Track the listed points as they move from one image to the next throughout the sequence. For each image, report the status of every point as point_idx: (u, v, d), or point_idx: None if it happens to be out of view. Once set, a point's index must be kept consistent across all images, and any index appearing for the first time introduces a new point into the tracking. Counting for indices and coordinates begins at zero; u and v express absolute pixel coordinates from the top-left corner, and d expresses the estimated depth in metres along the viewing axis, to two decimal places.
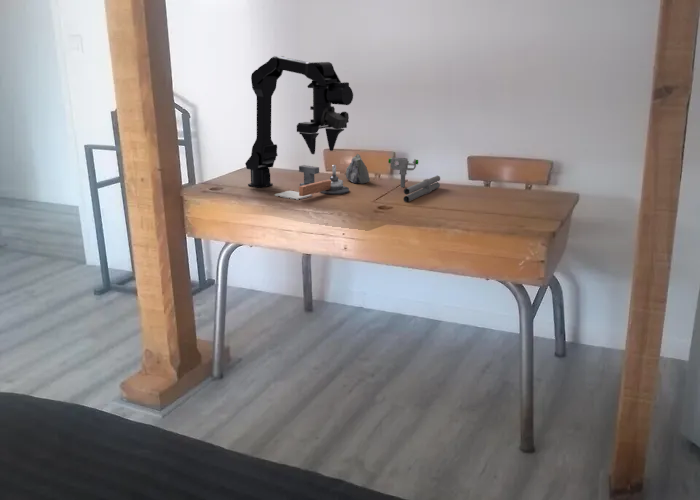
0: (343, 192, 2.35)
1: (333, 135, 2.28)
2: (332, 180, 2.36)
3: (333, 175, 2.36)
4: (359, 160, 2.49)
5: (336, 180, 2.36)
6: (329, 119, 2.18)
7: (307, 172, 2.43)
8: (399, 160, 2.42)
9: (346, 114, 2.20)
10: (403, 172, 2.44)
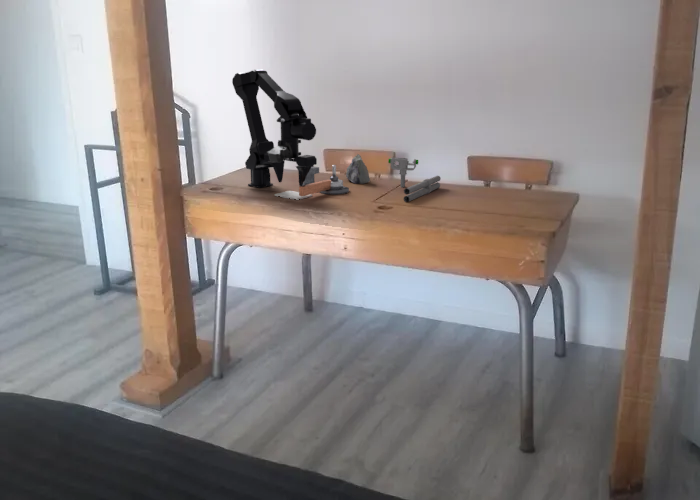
0: (343, 192, 2.35)
1: None
2: (332, 180, 2.36)
3: (333, 175, 2.36)
4: (359, 160, 2.49)
5: (336, 180, 2.36)
6: None
7: None
8: (399, 160, 2.42)
9: (281, 150, 2.23)
10: (403, 172, 2.44)
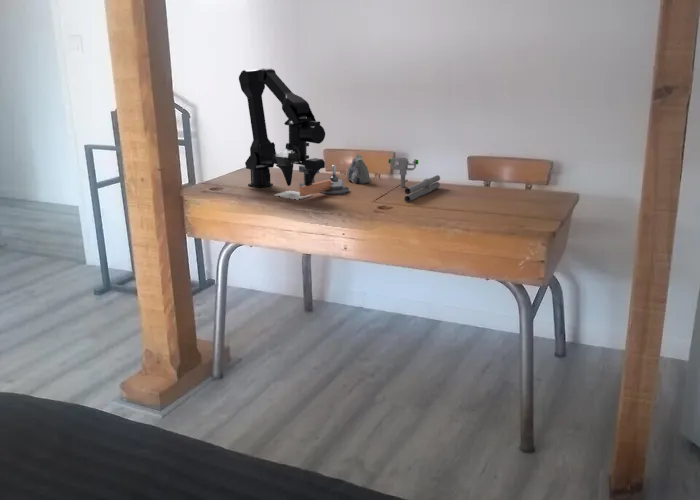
0: (343, 192, 2.35)
1: None
2: (332, 180, 2.36)
3: (333, 175, 2.36)
4: (359, 160, 2.49)
5: (336, 180, 2.36)
6: None
7: None
8: (399, 160, 2.42)
9: (290, 153, 2.21)
10: (403, 172, 2.44)
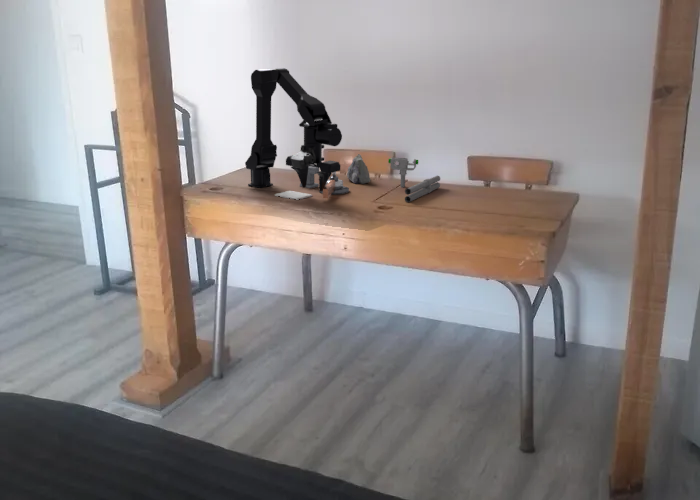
0: (343, 192, 2.35)
1: None
2: (334, 180, 2.36)
3: (334, 175, 2.36)
4: (360, 160, 2.49)
5: (337, 180, 2.37)
6: None
7: None
8: (399, 160, 2.42)
9: (305, 156, 2.17)
10: (403, 172, 2.44)
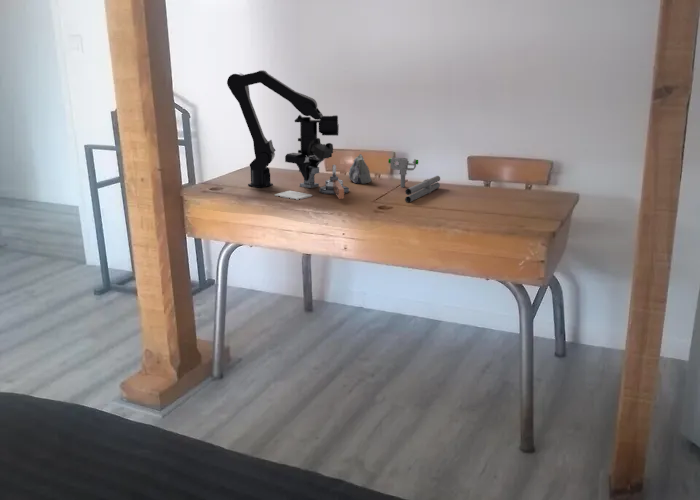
0: None
1: (313, 165, 2.45)
2: None
3: (334, 175, 2.36)
4: (360, 160, 2.49)
5: (338, 179, 2.37)
6: (315, 150, 2.38)
7: None
8: (399, 160, 2.42)
9: (331, 145, 2.40)
10: (403, 172, 2.44)
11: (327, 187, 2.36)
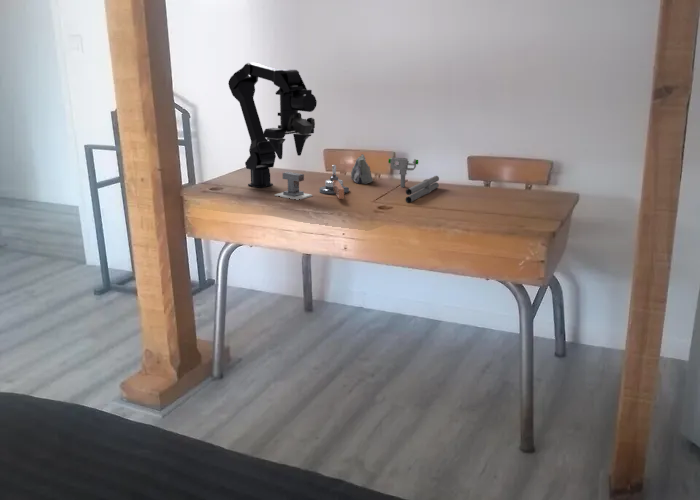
0: None
1: (301, 141, 2.34)
2: None
3: (334, 175, 2.36)
4: (362, 160, 2.49)
5: (338, 179, 2.37)
6: (295, 125, 2.24)
7: (291, 179, 2.28)
8: (399, 160, 2.42)
9: (312, 120, 2.27)
10: (403, 172, 2.44)
11: (327, 187, 2.36)
